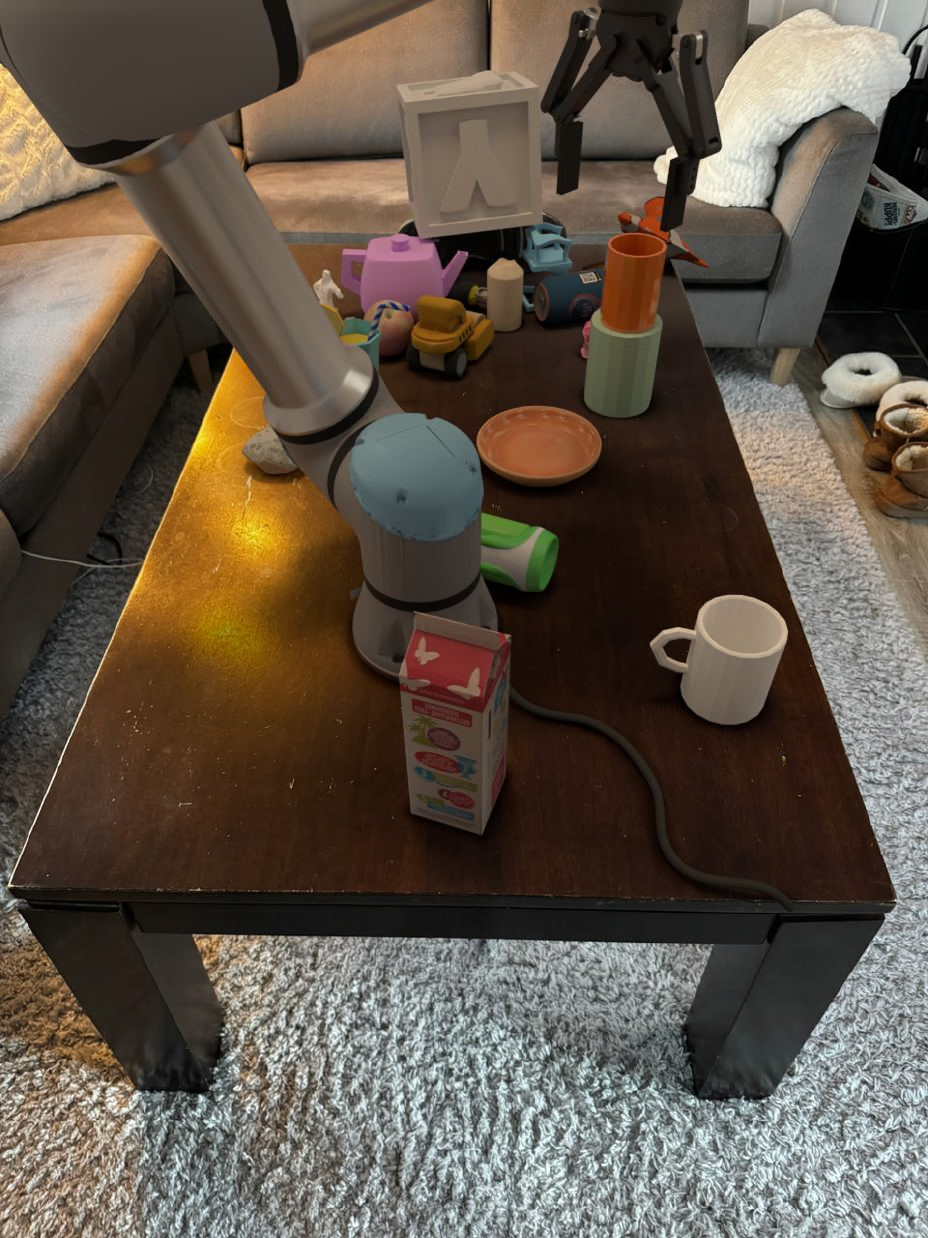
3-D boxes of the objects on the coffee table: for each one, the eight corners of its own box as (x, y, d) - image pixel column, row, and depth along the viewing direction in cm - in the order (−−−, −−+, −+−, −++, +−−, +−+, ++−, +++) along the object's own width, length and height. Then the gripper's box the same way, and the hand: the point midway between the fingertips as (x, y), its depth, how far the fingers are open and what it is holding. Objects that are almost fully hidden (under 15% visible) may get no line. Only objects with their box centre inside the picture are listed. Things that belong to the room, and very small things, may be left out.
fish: (643, 177, 145) (620, 177, 158) (605, 252, 149) (586, 246, 162) (742, 234, 150) (712, 230, 163) (702, 305, 154) (676, 296, 168)
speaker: (532, 602, 95) (551, 589, 102) (547, 536, 93) (565, 527, 100) (384, 559, 100) (412, 549, 107) (395, 495, 98) (423, 489, 105)
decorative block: (410, 209, 153) (394, 73, 141) (520, 196, 154) (515, 59, 142) (419, 239, 138) (403, 89, 126) (542, 224, 139) (538, 74, 127)
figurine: (293, 346, 134) (292, 266, 126) (327, 334, 139) (329, 256, 131) (327, 365, 132) (329, 284, 124) (361, 351, 136) (364, 272, 128)
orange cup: (665, 326, 117) (677, 250, 110) (618, 337, 115) (627, 261, 108) (636, 303, 122) (646, 228, 115) (589, 314, 120) (597, 238, 113)
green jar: (662, 408, 126) (675, 328, 117) (605, 423, 123) (614, 343, 114) (627, 377, 132) (638, 298, 123) (572, 391, 129) (579, 312, 120)
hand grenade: (432, 280, 145) (482, 294, 141) (449, 267, 147) (499, 281, 143) (436, 305, 149) (485, 320, 144) (452, 292, 151) (501, 306, 146)
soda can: (612, 322, 145) (543, 334, 143) (595, 291, 148) (528, 303, 145) (623, 288, 139) (552, 300, 136) (605, 257, 142) (535, 268, 139)
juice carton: (437, 755, 84) (429, 583, 69) (505, 775, 82) (512, 603, 67) (410, 813, 80) (395, 643, 64) (481, 835, 78) (483, 666, 62)
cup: (417, 388, 130) (412, 288, 119) (411, 418, 124) (406, 315, 114) (321, 385, 131) (308, 285, 120) (312, 415, 125) (297, 313, 114)
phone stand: (576, 306, 147) (582, 232, 138) (527, 312, 146) (530, 237, 137) (561, 285, 152) (566, 213, 144) (514, 291, 151) (516, 218, 142)
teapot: (340, 334, 141) (331, 254, 132) (347, 298, 150) (339, 220, 141) (468, 333, 141) (468, 253, 132) (468, 297, 149) (467, 219, 140)
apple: (397, 375, 136) (381, 337, 129) (362, 356, 139) (344, 318, 132) (430, 339, 137) (416, 300, 130) (395, 321, 141) (379, 282, 134)
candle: (481, 319, 144) (481, 258, 137) (511, 312, 146) (513, 251, 139) (496, 334, 141) (497, 272, 134) (527, 327, 142) (530, 265, 135)
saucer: (583, 506, 110) (585, 486, 108) (460, 481, 114) (459, 462, 112) (611, 436, 121) (613, 416, 118) (497, 415, 124) (498, 396, 122)
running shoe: (571, 212, 148) (570, 192, 157) (394, 202, 149) (403, 182, 158) (563, 281, 155) (563, 258, 164) (395, 270, 156) (404, 248, 165)
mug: (636, 661, 92) (650, 591, 85) (755, 664, 92) (778, 594, 85) (644, 723, 87) (659, 654, 80) (770, 726, 86) (796, 657, 79)
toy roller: (497, 340, 139) (497, 274, 131) (455, 387, 130) (452, 319, 122) (446, 329, 142) (443, 264, 134) (402, 374, 133) (396, 307, 125)
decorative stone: (325, 482, 114) (321, 449, 111) (240, 483, 114) (233, 450, 111) (334, 428, 123) (330, 395, 119) (255, 428, 123) (249, 396, 119)
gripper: (797, -33, 73) (741, 232, 88) (564, -69, 85) (551, 168, 100) (744, -18, 69) (696, 256, 84) (510, -58, 82) (504, 186, 97)
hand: (617, 208), depth 92 cm, fingers open, 13 cm apart
